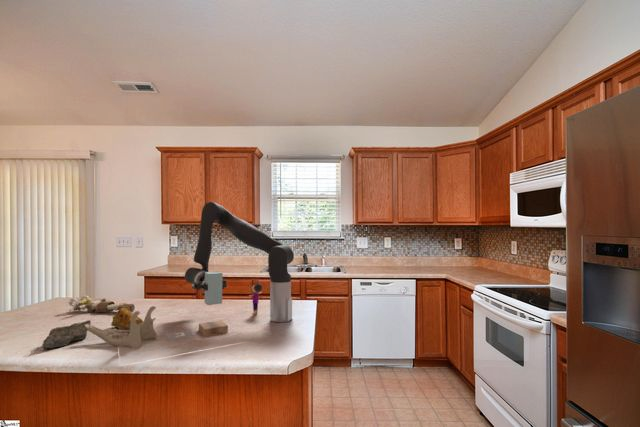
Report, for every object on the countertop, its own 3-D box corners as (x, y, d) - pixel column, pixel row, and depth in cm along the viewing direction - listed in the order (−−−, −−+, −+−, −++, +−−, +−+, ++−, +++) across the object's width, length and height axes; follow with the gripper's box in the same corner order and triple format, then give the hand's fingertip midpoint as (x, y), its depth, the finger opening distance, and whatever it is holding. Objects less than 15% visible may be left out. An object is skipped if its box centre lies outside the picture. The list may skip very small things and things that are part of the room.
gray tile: (189, 330, 134) (189, 329, 134) (194, 337, 126) (194, 336, 126) (165, 334, 129) (165, 333, 129) (168, 341, 121) (168, 340, 122)
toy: (258, 311, 165) (259, 280, 166) (268, 312, 163) (268, 281, 163) (245, 316, 156) (245, 284, 156) (254, 317, 153) (255, 284, 154)
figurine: (146, 308, 174) (94, 304, 178) (146, 295, 174) (94, 292, 178) (112, 321, 150) (52, 317, 154) (112, 306, 150) (53, 302, 154)
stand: (221, 327, 138) (221, 320, 139) (227, 333, 131) (227, 325, 131) (198, 331, 134) (198, 323, 134) (204, 337, 126) (204, 329, 126)
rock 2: (135, 333, 143) (149, 318, 142) (122, 343, 135) (136, 327, 133) (116, 316, 143) (129, 300, 142) (101, 324, 135) (115, 308, 133)
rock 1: (76, 322, 130) (96, 317, 128) (78, 339, 129) (99, 334, 127) (29, 334, 114) (52, 328, 112) (31, 354, 113) (55, 349, 111)
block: (218, 300, 137) (218, 271, 137) (222, 303, 132) (222, 273, 132) (204, 302, 134) (204, 272, 134) (207, 305, 129) (208, 274, 129)
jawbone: (158, 339, 124) (156, 303, 123) (140, 351, 114) (138, 312, 113) (98, 338, 127) (95, 302, 127) (76, 350, 117) (73, 311, 117)
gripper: (187, 273, 141) (196, 279, 127) (221, 271, 149) (233, 276, 135) (187, 291, 141) (195, 299, 127) (221, 287, 149) (233, 294, 134)
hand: (215, 287), depth 131 cm, fingers closed on block, 5 cm apart
